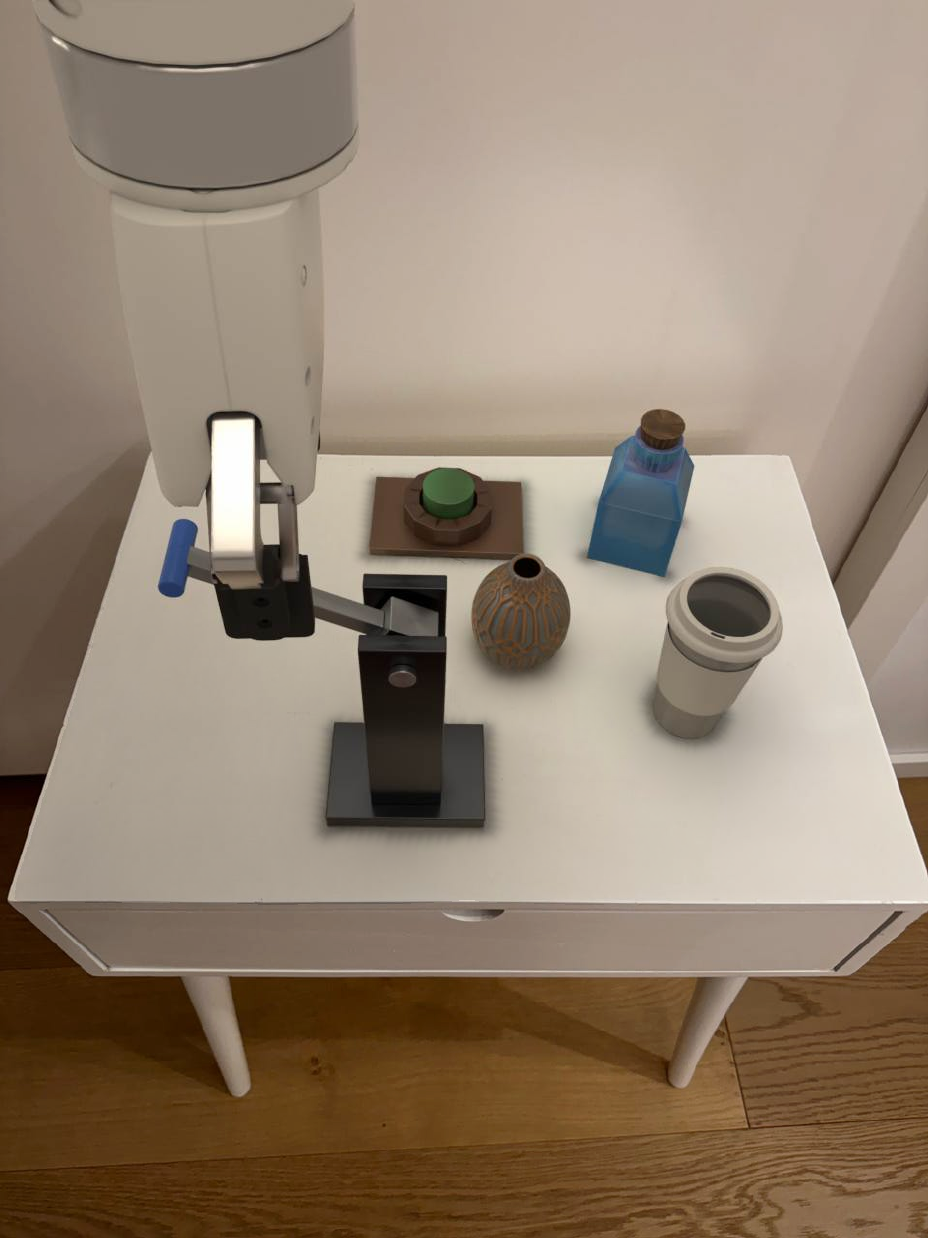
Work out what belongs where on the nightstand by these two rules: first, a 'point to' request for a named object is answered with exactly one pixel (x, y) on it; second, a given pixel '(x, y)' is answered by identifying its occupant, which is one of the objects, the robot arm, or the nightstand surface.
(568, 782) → the nightstand surface
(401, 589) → the switch bracket
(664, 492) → the perfume bottle
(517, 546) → the button block
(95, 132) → the robot arm
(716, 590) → the cup
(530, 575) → the vase
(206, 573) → the light lever
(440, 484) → the light button
